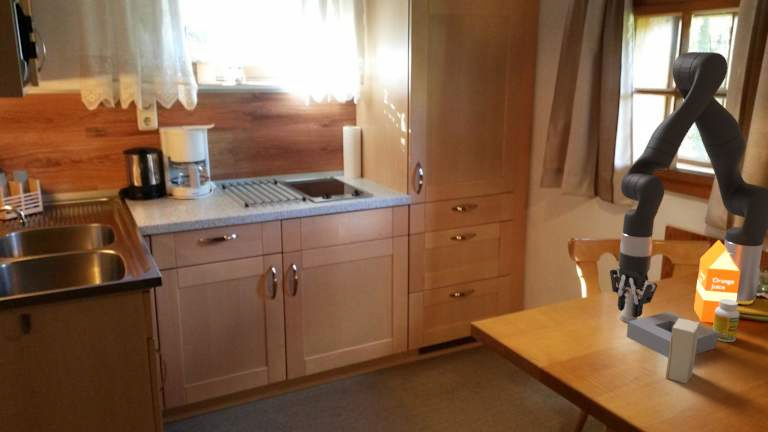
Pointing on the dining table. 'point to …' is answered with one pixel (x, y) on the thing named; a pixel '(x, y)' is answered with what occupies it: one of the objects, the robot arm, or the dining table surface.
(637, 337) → the socket block
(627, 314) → the rook chess piece
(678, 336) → the skincare box
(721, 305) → the supplement bottle
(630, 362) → the dining table surface
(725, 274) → the orange juice
